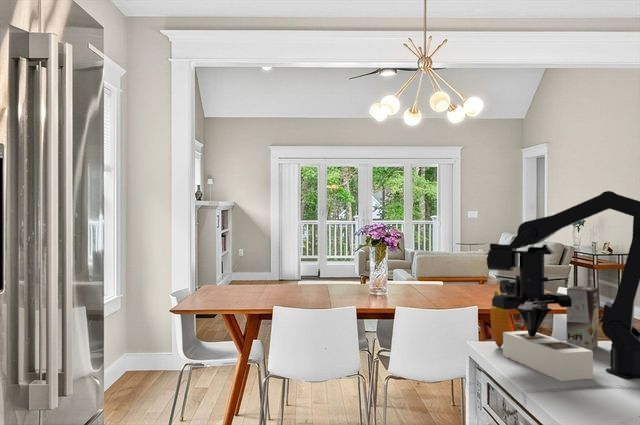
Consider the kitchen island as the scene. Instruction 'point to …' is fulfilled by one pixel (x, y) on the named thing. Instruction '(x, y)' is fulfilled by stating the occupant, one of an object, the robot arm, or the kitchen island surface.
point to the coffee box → (583, 317)
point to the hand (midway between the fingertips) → (531, 336)
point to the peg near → (558, 346)
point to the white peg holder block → (549, 356)
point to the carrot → (499, 322)
